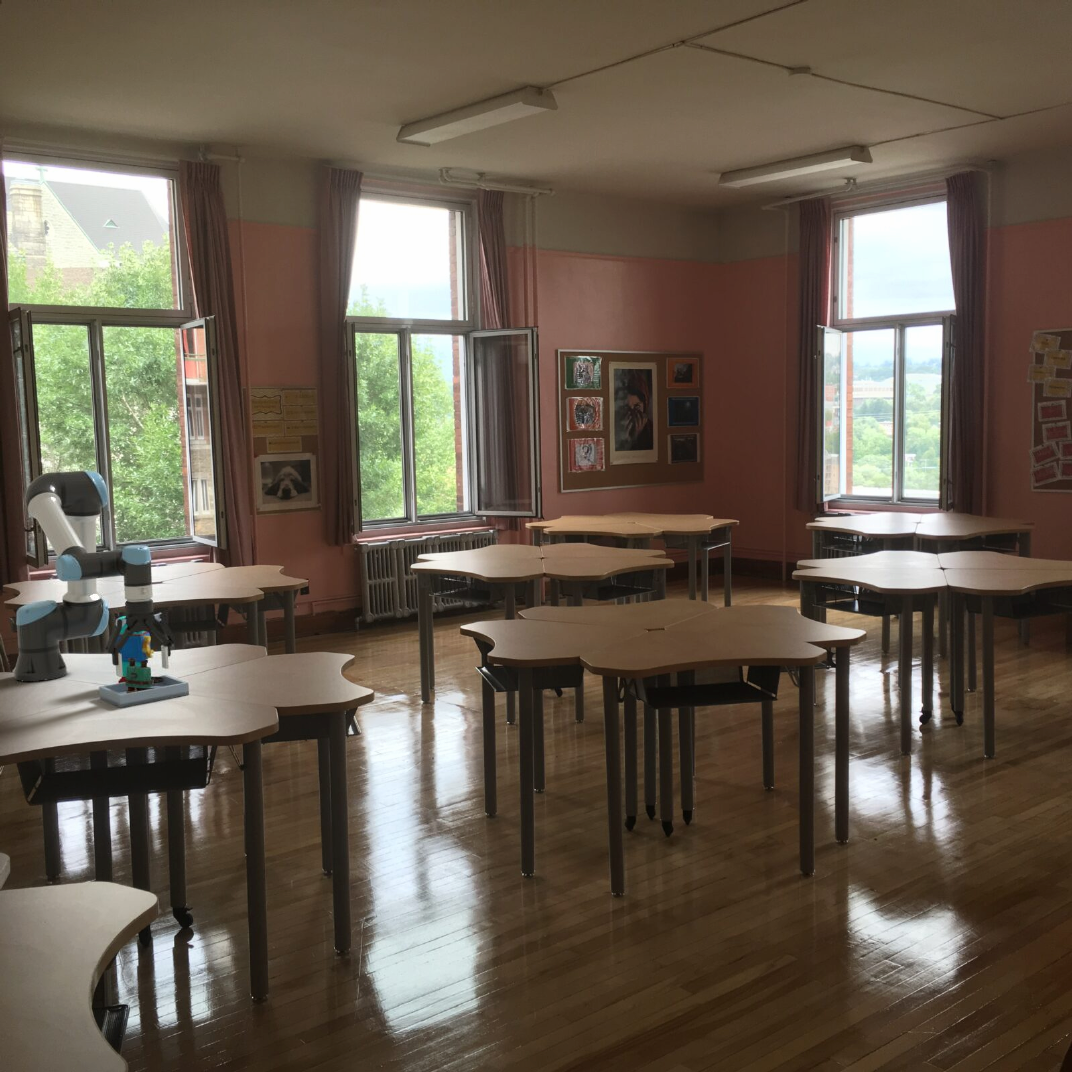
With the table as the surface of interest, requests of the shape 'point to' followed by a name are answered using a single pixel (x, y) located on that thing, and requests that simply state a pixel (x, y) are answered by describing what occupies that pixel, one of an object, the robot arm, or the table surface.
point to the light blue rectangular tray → (143, 692)
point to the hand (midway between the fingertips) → (142, 672)
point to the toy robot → (134, 649)
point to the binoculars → (140, 677)
